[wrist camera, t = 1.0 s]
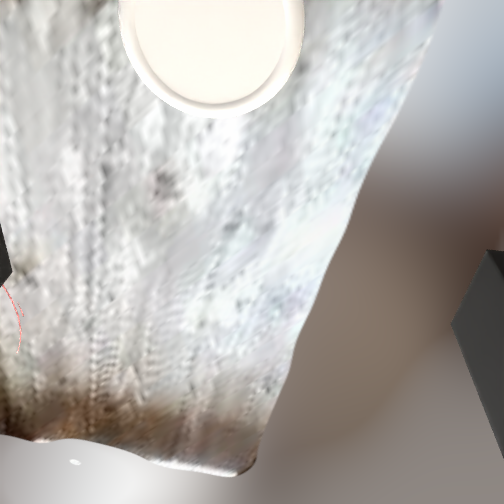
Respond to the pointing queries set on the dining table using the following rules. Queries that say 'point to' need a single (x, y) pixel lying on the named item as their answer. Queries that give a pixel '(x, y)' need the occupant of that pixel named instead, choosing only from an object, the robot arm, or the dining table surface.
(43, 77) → the dining table surface
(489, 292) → the robot arm
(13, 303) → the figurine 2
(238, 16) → the white thick disc
